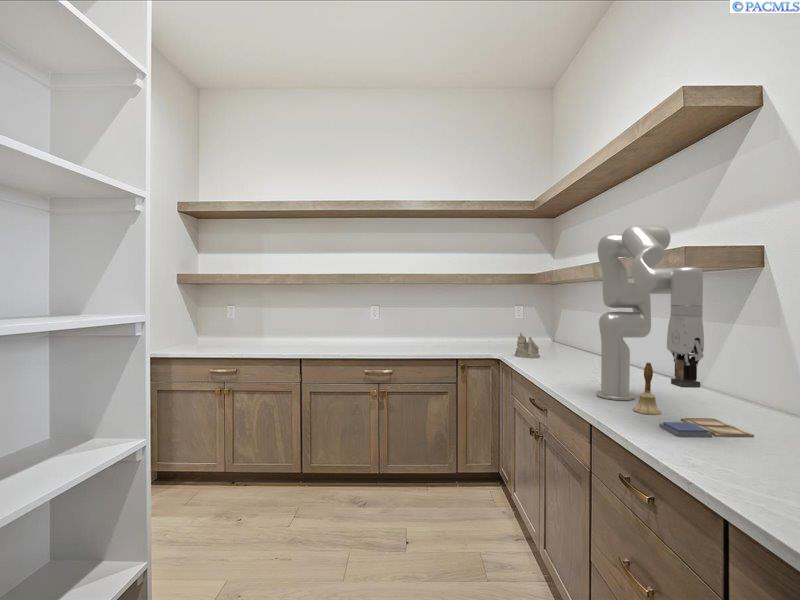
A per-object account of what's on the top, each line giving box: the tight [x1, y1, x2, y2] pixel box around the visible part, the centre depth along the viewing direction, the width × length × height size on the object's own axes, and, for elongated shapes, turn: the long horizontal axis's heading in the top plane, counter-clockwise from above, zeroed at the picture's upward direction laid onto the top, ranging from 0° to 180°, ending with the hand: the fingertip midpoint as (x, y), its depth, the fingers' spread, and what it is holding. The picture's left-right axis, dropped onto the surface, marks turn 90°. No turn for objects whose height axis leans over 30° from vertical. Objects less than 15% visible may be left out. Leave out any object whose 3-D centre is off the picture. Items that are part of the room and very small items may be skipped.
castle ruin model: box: [514, 332, 541, 359], centre depth 282 cm, size 16×16×15 cm
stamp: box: [670, 360, 701, 389], centre depth 127 cm, size 5×5×7 cm
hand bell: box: [632, 362, 663, 416], centre depth 149 cm, size 8×8×16 cm
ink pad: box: [659, 421, 713, 438], centre depth 127 cm, size 9×9×2 cm
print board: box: [680, 417, 755, 438], centre depth 131 cm, size 16×10×1 cm, turn 179°
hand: (685, 377), depth 127 cm, fingers closed on stamp, 3 cm apart
